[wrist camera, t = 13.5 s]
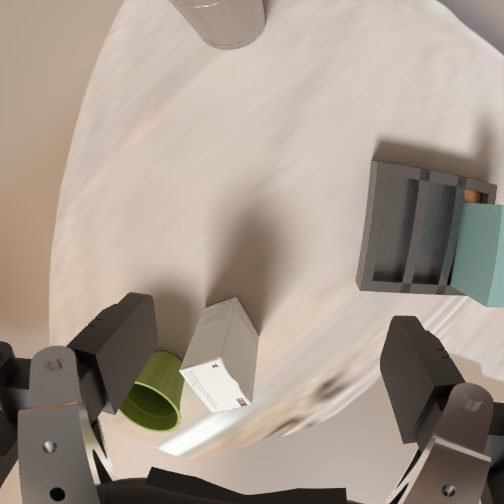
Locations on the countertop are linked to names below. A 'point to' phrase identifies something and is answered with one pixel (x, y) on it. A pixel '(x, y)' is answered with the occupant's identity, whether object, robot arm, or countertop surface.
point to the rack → (414, 228)
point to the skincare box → (222, 357)
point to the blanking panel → (480, 254)
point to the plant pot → (156, 394)
